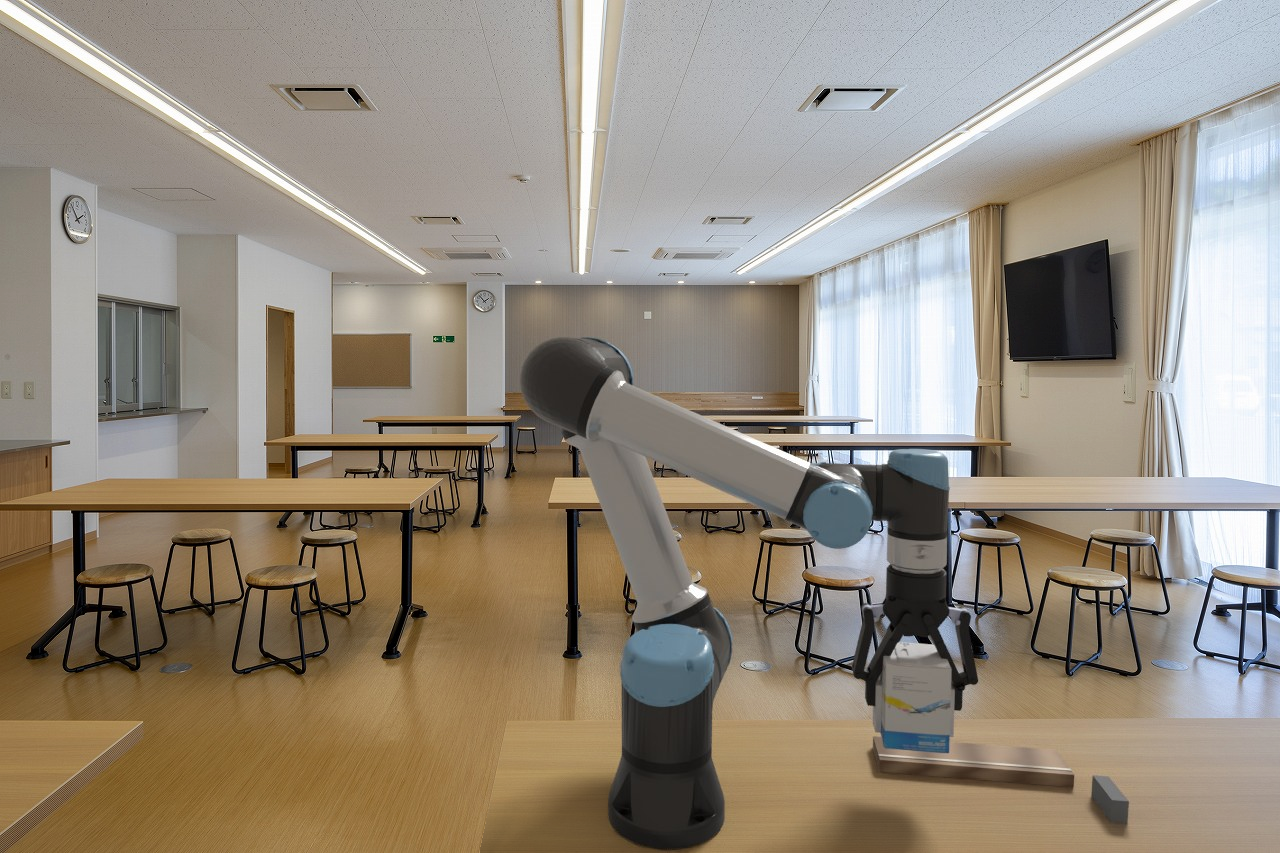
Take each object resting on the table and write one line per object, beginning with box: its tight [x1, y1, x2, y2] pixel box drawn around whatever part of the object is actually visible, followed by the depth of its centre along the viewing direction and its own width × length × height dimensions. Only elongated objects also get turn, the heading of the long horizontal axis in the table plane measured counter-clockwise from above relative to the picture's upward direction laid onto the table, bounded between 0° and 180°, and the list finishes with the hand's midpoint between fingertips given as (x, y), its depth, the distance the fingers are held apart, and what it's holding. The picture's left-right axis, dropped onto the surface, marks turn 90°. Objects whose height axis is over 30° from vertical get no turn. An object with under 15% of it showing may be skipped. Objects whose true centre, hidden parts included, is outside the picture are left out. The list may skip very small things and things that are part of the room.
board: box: [872, 735, 1075, 788], centre depth 115 cm, size 26×7×2 cm, turn 81°
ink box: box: [878, 641, 952, 753], centre depth 106 cm, size 9×8×12 cm
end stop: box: [1091, 774, 1130, 825], centre depth 104 cm, size 2×6×3 cm, turn 171°
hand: (912, 729), depth 107 cm, fingers closed on ink box, 9 cm apart
